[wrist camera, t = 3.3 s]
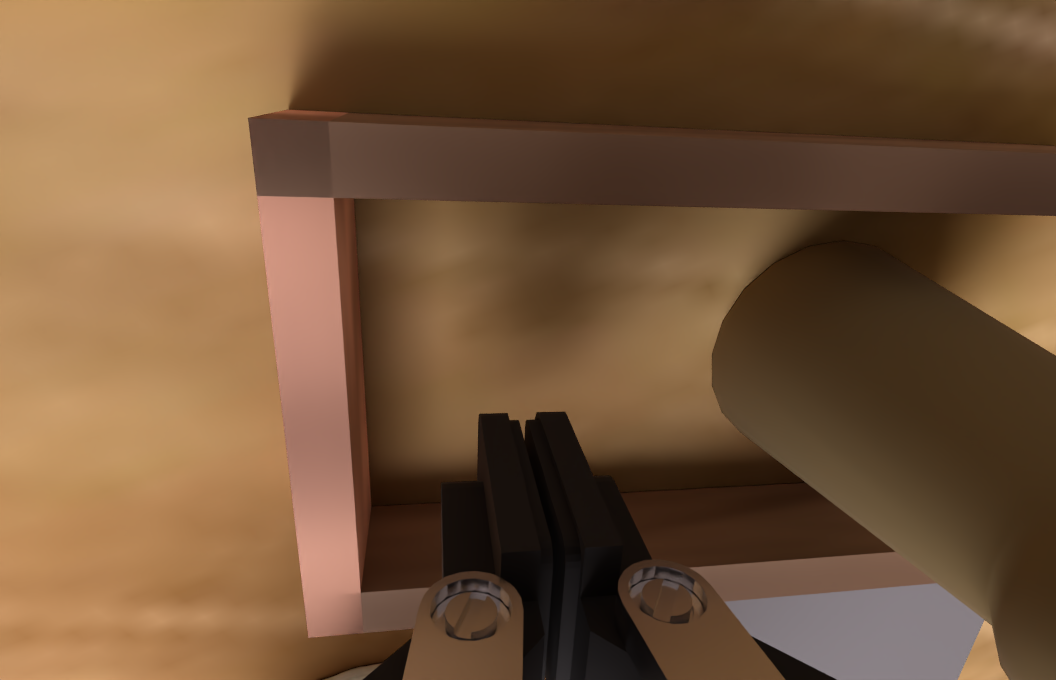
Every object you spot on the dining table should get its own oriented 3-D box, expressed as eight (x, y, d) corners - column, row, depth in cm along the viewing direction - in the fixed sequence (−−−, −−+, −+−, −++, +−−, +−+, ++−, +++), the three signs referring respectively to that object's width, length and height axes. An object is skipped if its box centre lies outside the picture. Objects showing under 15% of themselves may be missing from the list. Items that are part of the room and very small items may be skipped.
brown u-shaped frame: (287, 109, 12) (248, 118, 10) (1055, 145, 15) (1193, 159, 12) (327, 545, 16) (308, 637, 14) (923, 507, 19) (1005, 577, 17)
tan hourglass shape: (671, 332, 16) (1114, 782, 6) (879, 192, 15) (1793, 417, 5) (765, 482, 18) (1190, 983, 8) (947, 368, 17) (1652, 755, 7)
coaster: (723, 546, 19) (732, 560, 18) (1004, 526, 20) (1020, 538, 20) (676, 761, 23) (682, 778, 22) (916, 730, 24) (927, 745, 24)
